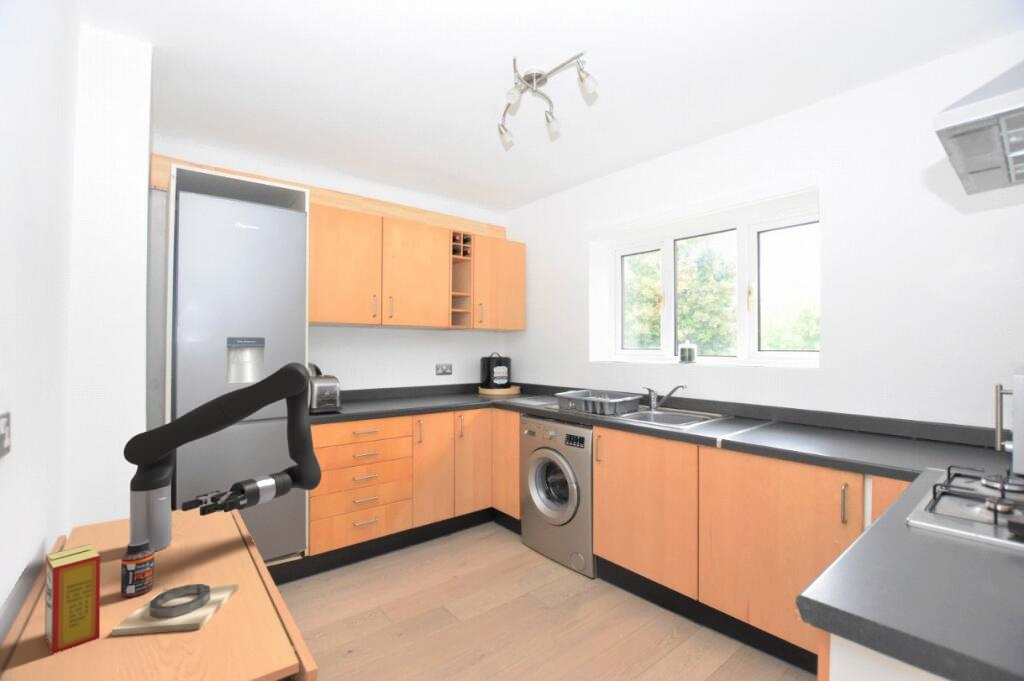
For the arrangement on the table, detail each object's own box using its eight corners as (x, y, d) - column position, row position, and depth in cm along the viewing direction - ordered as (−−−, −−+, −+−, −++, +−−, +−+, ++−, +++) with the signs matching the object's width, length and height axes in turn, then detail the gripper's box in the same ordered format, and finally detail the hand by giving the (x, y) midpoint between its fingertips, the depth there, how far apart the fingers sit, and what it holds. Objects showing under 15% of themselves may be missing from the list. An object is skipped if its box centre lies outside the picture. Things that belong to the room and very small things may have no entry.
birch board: (164, 594, 107) (164, 588, 107) (238, 589, 109) (238, 583, 109) (112, 635, 91) (112, 629, 91) (199, 629, 93) (199, 623, 93)
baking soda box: (99, 637, 90) (100, 553, 91) (52, 655, 85) (53, 566, 86) (89, 621, 96) (90, 542, 97) (45, 636, 91) (46, 553, 92)
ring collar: (169, 594, 104) (169, 585, 105) (219, 590, 106) (219, 582, 106) (137, 620, 94) (137, 611, 94) (192, 616, 95) (192, 607, 95)
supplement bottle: (135, 599, 105) (135, 548, 105) (113, 597, 106) (114, 546, 106) (160, 586, 111) (160, 538, 111) (139, 584, 112) (139, 536, 112)
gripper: (238, 476, 136) (176, 491, 122) (268, 480, 129) (206, 497, 115) (238, 502, 136) (176, 520, 122) (269, 508, 129) (207, 528, 115)
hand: (191, 509), depth 118 cm, fingers open, 8 cm apart
